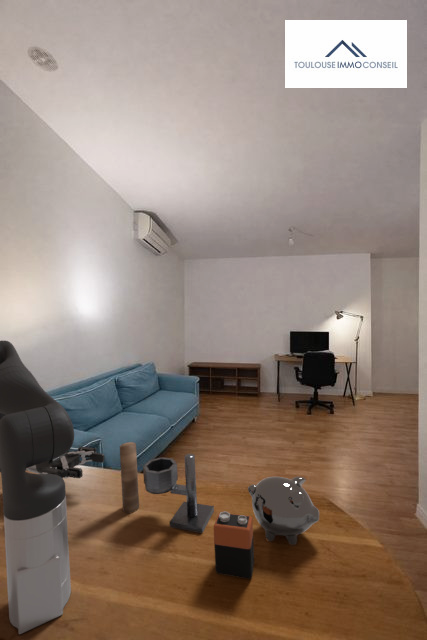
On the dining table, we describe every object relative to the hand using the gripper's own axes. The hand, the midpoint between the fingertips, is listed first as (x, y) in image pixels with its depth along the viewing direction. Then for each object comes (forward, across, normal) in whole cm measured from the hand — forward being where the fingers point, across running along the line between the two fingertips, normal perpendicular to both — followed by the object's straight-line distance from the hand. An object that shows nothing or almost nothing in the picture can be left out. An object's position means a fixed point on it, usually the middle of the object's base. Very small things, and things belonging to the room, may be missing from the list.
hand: (93, 465), depth 82 cm
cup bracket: (+24, 0, +9) cm, 26 cm away
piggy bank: (+49, 0, +10) cm, 50 cm away
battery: (+42, -11, +10) cm, 44 cm away
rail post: (+11, 0, +10) cm, 15 cm away
